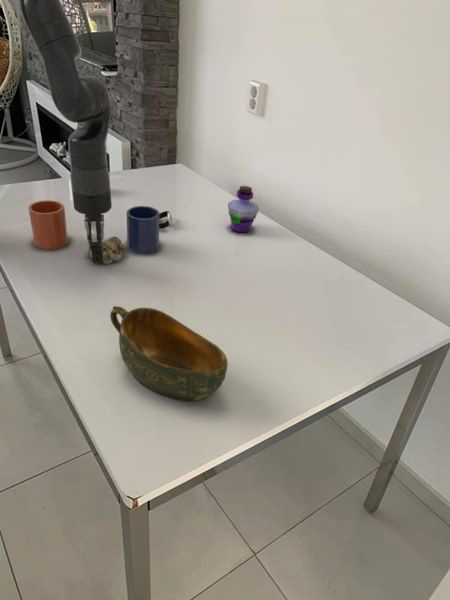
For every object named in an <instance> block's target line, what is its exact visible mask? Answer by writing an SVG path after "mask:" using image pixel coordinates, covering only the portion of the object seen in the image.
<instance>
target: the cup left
mask: <svg viewBox="0 0 450 600" xmlns="http://www.w3.org/2000/svg"><path fill="white" fill-rule="evenodd" d="M28 215H29V220H30V226H31V232H32V238H33V244H34V245H35V246H36V247H37V248H39V249H44V250H56V249H59V248H63V247H64V246H66V245H67V244H68V242H69V238H68V229H67V220H66V212H65V206H64V204H63V203H62V202H60V201H57V200H38V201H35V202H32V203H31V204H29V206H28Z"/></svg>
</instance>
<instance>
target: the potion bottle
mask: <svg viewBox="0 0 450 600" xmlns="http://www.w3.org/2000/svg"><path fill="white" fill-rule="evenodd" d="M236 197H237V199H233V200H231V201H229V202H227V208H228V209H227V210H228V215H229V218H230V229H231V231H232V232H235V233H237V234H247V233H249V232H251V229H252V226H253V223H254V221H255V219H256V218H257V215H258V213H259V210H260V207H259V206H258V204H257V203H256V202H254V201H251V200H253V198H254V192H253V188H252V187H251V186H248V185H241V186H239V188H238V190H237V191H236Z"/></svg>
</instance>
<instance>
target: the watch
mask: <svg viewBox="0 0 450 600" xmlns="http://www.w3.org/2000/svg"><path fill="white" fill-rule="evenodd" d="M164 218H167V220H166V221H164V222H159V230H160V229H166V228H168V227H169V226H172V225H173V216H172V214H171V212H170V211H168V210H166V211H162V212H159V221H160V220H162V219H164Z"/></svg>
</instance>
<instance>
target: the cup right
mask: <svg viewBox="0 0 450 600" xmlns="http://www.w3.org/2000/svg"><path fill="white" fill-rule="evenodd" d="M125 214H126V241H127V249H128V250H129V251H131V252H132V253H135V254H141V255H146V254H152V253H155V252H156V251H158V250H159V248H160V228H159V223H160V220H159V214H160V211H159V210H158V209H157V208H155V207H153V206H147V205H138V206H132V207H129V209H127V210H126V213H125Z"/></svg>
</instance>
